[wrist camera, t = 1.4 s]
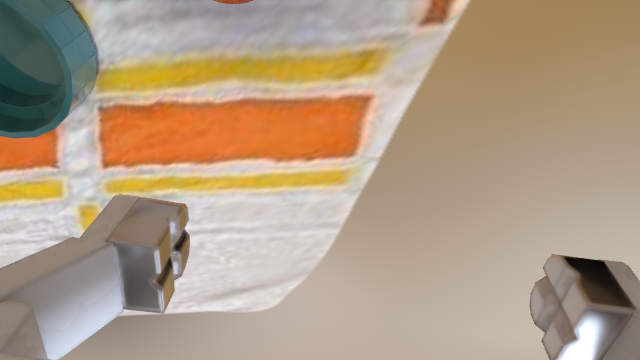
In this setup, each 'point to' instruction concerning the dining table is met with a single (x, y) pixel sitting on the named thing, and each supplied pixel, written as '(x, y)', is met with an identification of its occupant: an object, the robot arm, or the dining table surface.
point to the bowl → (42, 65)
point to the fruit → (233, 1)
